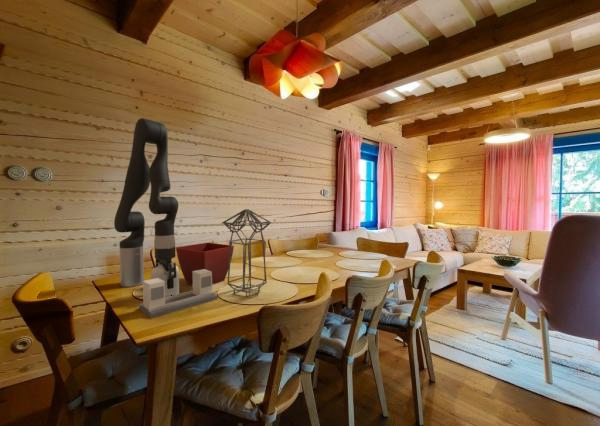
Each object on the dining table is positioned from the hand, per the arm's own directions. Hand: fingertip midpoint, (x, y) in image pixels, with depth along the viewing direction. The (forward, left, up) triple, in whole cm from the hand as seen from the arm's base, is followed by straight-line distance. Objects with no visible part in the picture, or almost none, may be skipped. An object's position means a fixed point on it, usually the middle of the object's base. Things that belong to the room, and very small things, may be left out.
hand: (165, 286), depth 113 cm
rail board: (+13, 0, -4) cm, 13 cm away
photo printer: (0, 0, -4) cm, 4 cm away
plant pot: (-6, +21, -4) cm, 22 cm away
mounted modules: (+13, 0, -2) cm, 13 cm away
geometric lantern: (+22, +24, -4) cm, 33 cm away
